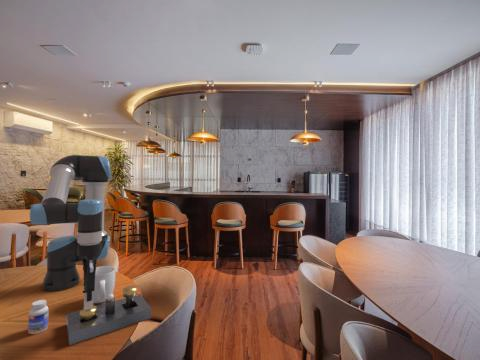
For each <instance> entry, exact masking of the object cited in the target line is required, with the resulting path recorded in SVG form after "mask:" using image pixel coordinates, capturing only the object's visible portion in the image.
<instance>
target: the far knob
mask: <svg viewBox="0 0 480 360" xmlns="http://www.w3.org/2000/svg"><path fill="white" fill-rule="evenodd" d="M136 295H138V286H137V285H126V286H125V287H123V288H122V297H123V298H126V305H127V306H130V305H133V304H134V296H136Z"/></svg>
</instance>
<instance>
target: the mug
mask: <svg viewBox="0 0 480 360" xmlns="http://www.w3.org/2000/svg"><path fill="white" fill-rule="evenodd" d="M115 286H116V268H115V267H114V266H113V265H111V266H110V265H102V266H101V265H100V266H96V272H95V290H94V291H93V304H104V303H105V300H106V299H107V295H108V294H114V293H113V292H114V290H115Z"/></svg>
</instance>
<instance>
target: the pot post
mask: <svg viewBox="0 0 480 360" xmlns="http://www.w3.org/2000/svg"><path fill="white" fill-rule="evenodd" d="M115 301H116V297H115V296H114V293H112V294H108V295H107V299H106V300H105V302H104V304H105V313H112V312H114V311H115Z"/></svg>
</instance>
